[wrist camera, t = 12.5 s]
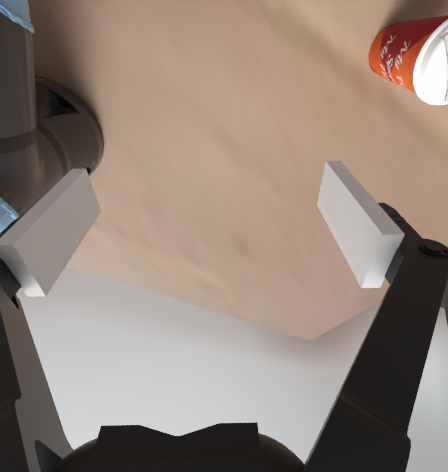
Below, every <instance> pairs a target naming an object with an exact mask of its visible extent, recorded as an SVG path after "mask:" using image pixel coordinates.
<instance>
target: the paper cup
mask: <svg viewBox="0 0 448 472" xmlns="http://www.w3.org/2000/svg"><path fill="white" fill-rule="evenodd" d="M369 64H370V67H371V69H372V70H373V71H374V72H375V73H376V74H378V75H380V76H381V77H383V78H385V79H387V80H389V81H391V82H393V83H395V84H397V85H400V86H402V87H404V88H406V89H408V90H410V91H412V92H414V93H416V94H417V95H418V96H419V98H420V99H421V100H423V101H424V102H426V103H429V104H432V105H444V104H448V16H442V17H435V18H428V19H422V20H415V21H409V22H403V23H398V24H394V25H391V26H389V27H387V28H386V29H384V30H383V31H382V32H381V33H380V34H379V35H378V36H377V37H376V39H375V40H374V42H373V44H372V46H371V48H370V52H369Z"/></svg>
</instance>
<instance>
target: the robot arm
mask: <svg viewBox="0 0 448 472" xmlns="http://www.w3.org/2000/svg"><path fill="white" fill-rule="evenodd" d="M32 33H34V27H33V26H32V24H31V21H30V13H29V4H28V0H0V472H405V471H406V467H407V463H408V459H409V453H410V448H411V441H410V439H409V437H408V436H407V430H408V426H409V422H410V418H411V414H412V411H413V406H414V403H415V399H416V395H417V392H418V388H419V384H420V380H421V377H422V373H423V369H424V365H425V362H426V358H427V354H428V350H429V347H430V343H431V339H432V335H433V331H434V328H435V324H436V320H437V316H438V313H439V309H440V307H443V308H445V313H446V319H447V324H448V247H446V246H445V245H443V244H441V243H439V242H437V241H434V240H430V239H423V238H422V237H421V236H420V235H419V234H418V233H417V232H416V231H415V230H414V229H413V228H412V227H411V226H410V225H409V224H408V223H407V222H406V221H405V219H404V218H403V217H401V215H400V214H399V213H398V212H397V211H396V210H395V209H394V208H392V207H390V206H389V205H387V204H385V203H377V202H376V201H375V200H374V199H373V197H372V196H371V195H370V194H369V193H368V192H367V191H366V190H365V188H364V187H363V186H362V185H361V184H360V183H359V182H358V180H357V179H356V178H355V177H354V176H353V175H352V174H351V173H350V171H349V170H348V169H347V168H346V167H345V166H344V165H343V163H342V162H341V161H326V163H325V168H324V173H323V178H322V183H321V188H320V193H319V198H318V202H317V206H318V208H319V210H320V211H321V213H322V215H323V217H324V219H325V221H326V223H327V225H328V226H329V228H330V230H331V232H332V234H333V236H334V238H335V240H336V241H337V243H338V245H339V247H340V249H341V251H342V253H343V254H344V256H345V258H346V260H347V262H348V264H349V266H350V268H351V269H352V271H353V273H354V275H355V277H356V279H357V281H358V282H359V284H360V286H361V288H380V287H381V285H382V283H383V280H384V278H385V277H386V279H387V281H388V282H389V284H390V286H389V288H388V290H387V292H386V294H385V296H384V298H383V300H382V302H381V305H380V307H379V309H378V311H377V313H376V315H375V317H374V320H373V322H372V324H371V326H370V328H369V330H368V332H367V334H366V336H365V338H364V341H363V343H362V345H361V347H360V349H359V351H358V353H357V355H356V357H355V360H354V362H353V364H352V366H351V368H350V370H349V372H348V375H347V377H346V379H345V381H344V383H343V385H342V387H341V389H340V391H339V393H338V395H337V398H336V400H335V402H334V404H333V406H332V408H331V410H330V412H329V414H328V417H327V419H326V421H325V423H324V425H323V427H322V429H321V431H320V434H319V436H318V438H317V440H316V442H315V444H314V446H313V448H312V450H311V452H310V454H309V456H308V458H307V460H306V463H305V465H304V464H303V462H302V461H301V460H300V459H299V458H298V457H297V456H296V455H295V454H294V453H293V452H292V451H290V450H289V449H288V448H287V447H286V446H284V445H283V444H281V443H280V442H278V441H276V440H275V439H272V438H270V437H268V436H266V435H262V434H259V433H258V426H257V423H219V424H216V425H213V426H210V427H207V428H204V429H201V430H198V431H195V432H192V433H188V434H185V435H182V436H173V435H170V434H166V433H163V432H160V431H157V430H153V429H150V428H147V427H144V426H140V425H125V426H124V425H122V426H101V429H100V432H99V435H98V438H97V439H94V440H92V441H90V442H87V443H85V444H83V445H82V446H80V447H78V448H77V449H75V450H74V451H73V449H72V448H71V446H70V444H69V442H68V441H67V439H66V436H65V434H64V431H63V428H62V425H61V422H60V419H59V416H58V413H57V410H56V407H55V404H54V401H53V398H52V395H51V392H50V389H49V386H48V383H47V380H46V377H45V374H44V371H43V368H42V365H41V362H40V359H39V356H38V353H37V350H36V348H35V344H34V342H33V338H32V335H31V332H30V330H29V327H28V323H27V321H26V317H25V315H24V311H23V308H22V306H21V303H20V300H19V298H18V297H17V296H16V293H17V291H18V290H19V289H20V287H21V288H22V289H23V290H24V292H25V293H26V295H27V296H28V297H29V296H30V297H32V296H46V295H47V294H48V292H49V291H50V289H51V287H52V286H53V285H54V283H55V281H56V280H57V278H58V277H59V275H60V274H61V272H62V271H63V269H64V268H65V266H66V264H67V263H68V261H69V260H70V258H71V257H72V255H73V254H74V252H75V251H76V249H77V248H78V246H79V244H80V243H81V241H82V240H83V238H84V237H85V235H86V234H87V232H88V231H89V229H90V227H91V226H92V224H93V223H94V221H95V220H96V218H97V217H98V215H99V214H100V212H101V210H100V207H99V204H98V201H97V198H96V195H95V193H94V190H93V187H92V184H91V181H90V178H89V176H90V175H91V174H92V172H93V171H94V170H95V169H96V168H97V167H98V165H99V163H100V161H101V159H102V155H103V137H102V133H101V130H100V127H99V125H98V123H97V121H96V119H95V117H94V115H93V114H92V112H91V111H90V110H89V108H88V107H87V106H86V105H85V104H84V102H83V101H82V100H81V99H80V98H78V97H77V96H76V95H75V94H74V93H72V92H71V91H70V90H68V89H67V88H65V87H63V86H62V85H60V84H58V83H56V82H53V81H51V80H47V79H44V78H39V77H35V70H34V53H33V36H32Z"/></svg>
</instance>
